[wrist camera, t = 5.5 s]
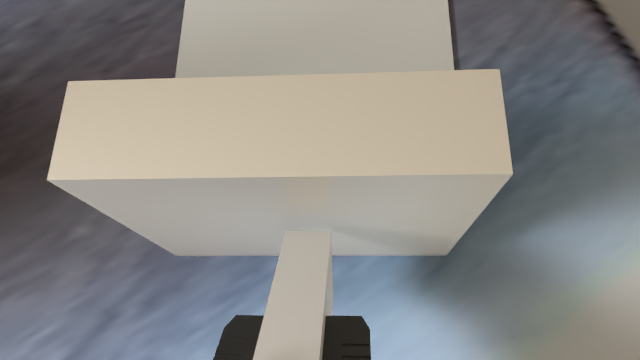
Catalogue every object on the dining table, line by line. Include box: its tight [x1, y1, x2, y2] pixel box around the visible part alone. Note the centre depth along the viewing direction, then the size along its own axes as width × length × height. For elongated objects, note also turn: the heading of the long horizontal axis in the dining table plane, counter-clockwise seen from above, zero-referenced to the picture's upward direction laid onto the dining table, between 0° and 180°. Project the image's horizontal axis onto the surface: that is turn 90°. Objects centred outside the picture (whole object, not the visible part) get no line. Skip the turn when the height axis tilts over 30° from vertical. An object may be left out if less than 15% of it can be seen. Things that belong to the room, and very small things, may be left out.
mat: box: [175, 0, 454, 78], centre depth 25 cm, size 14×12×1 cm
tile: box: [47, 69, 513, 256], centre depth 18 cm, size 12×3×10 cm, turn 89°
